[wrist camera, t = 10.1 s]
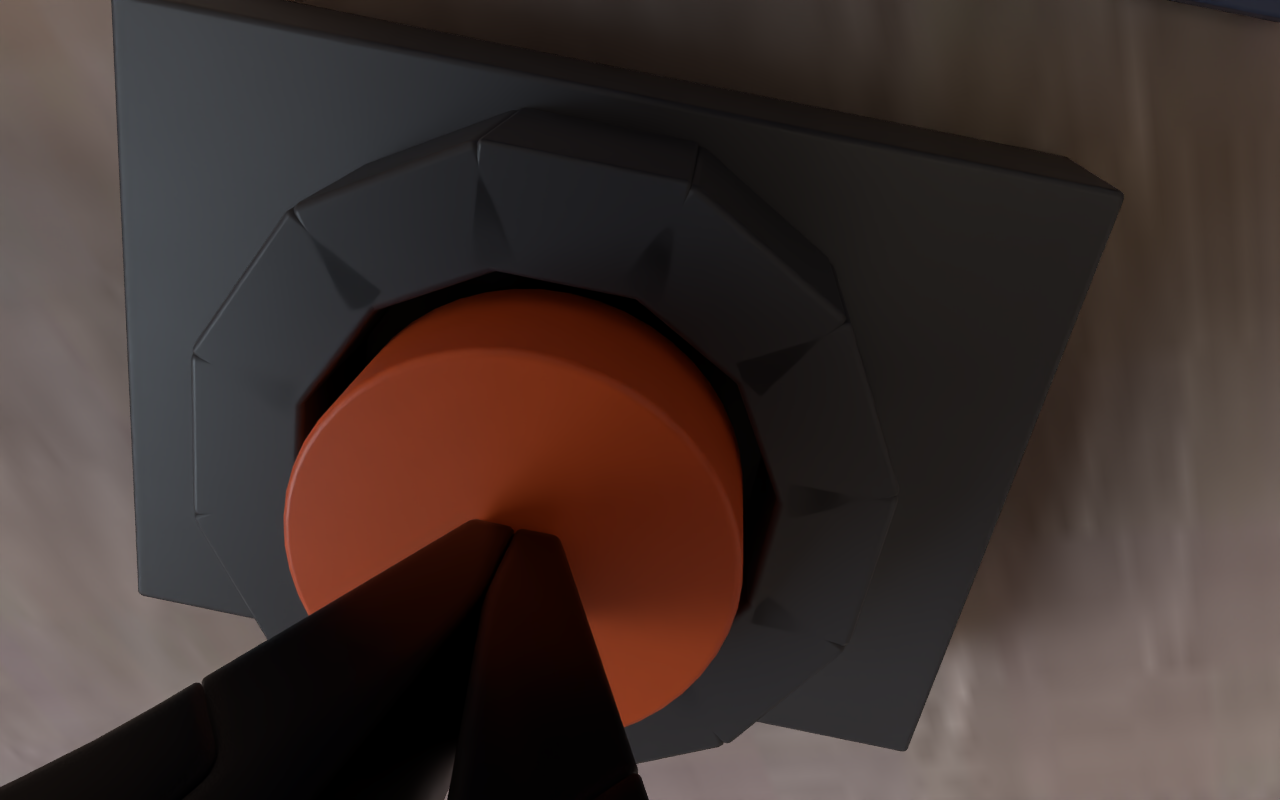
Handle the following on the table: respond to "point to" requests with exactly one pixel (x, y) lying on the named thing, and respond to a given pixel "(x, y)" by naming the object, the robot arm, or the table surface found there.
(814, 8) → the table surface
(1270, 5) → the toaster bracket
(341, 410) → the orange button
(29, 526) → the table surface
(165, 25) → the button housing
